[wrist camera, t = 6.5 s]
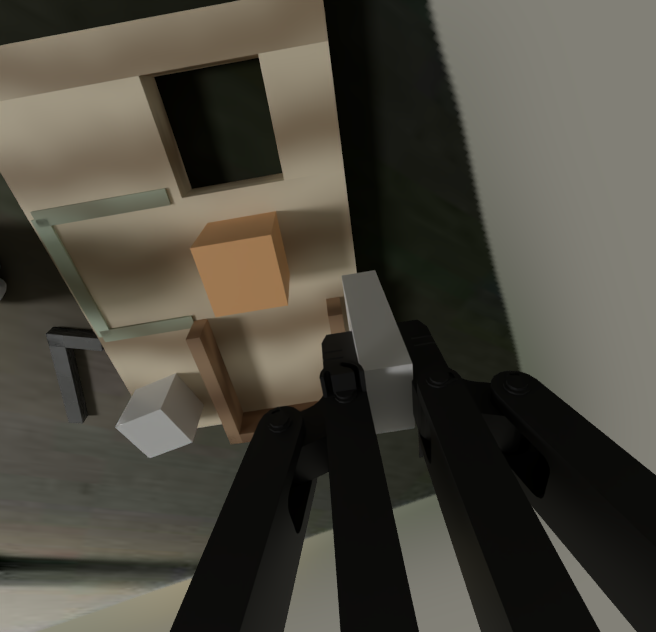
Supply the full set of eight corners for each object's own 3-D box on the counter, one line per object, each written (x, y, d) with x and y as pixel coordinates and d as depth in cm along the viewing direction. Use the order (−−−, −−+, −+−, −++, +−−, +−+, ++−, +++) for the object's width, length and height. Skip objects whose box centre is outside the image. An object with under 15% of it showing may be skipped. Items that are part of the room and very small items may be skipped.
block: (135, 389, 31) (115, 427, 28) (176, 373, 30) (160, 409, 27) (165, 420, 33) (149, 458, 30) (204, 405, 32) (192, 442, 29)
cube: (207, 222, 24) (189, 248, 20) (275, 211, 24) (270, 234, 20) (227, 284, 27) (215, 317, 23) (290, 273, 26) (288, 305, 23)
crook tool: (54, 325, 31) (45, 333, 30) (106, 330, 31) (100, 339, 30) (75, 412, 36) (68, 422, 35) (120, 416, 36) (114, 425, 35)
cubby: (194, 320, 28) (185, 339, 26) (339, 296, 28) (342, 314, 26) (235, 421, 34) (231, 444, 32) (356, 403, 33) (359, 424, 31)
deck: (-30, 60, 21) (-70, 57, 19) (319, -5, 21) (321, -16, 18) (163, 414, 36) (153, 436, 34) (368, 381, 36) (373, 402, 33)
